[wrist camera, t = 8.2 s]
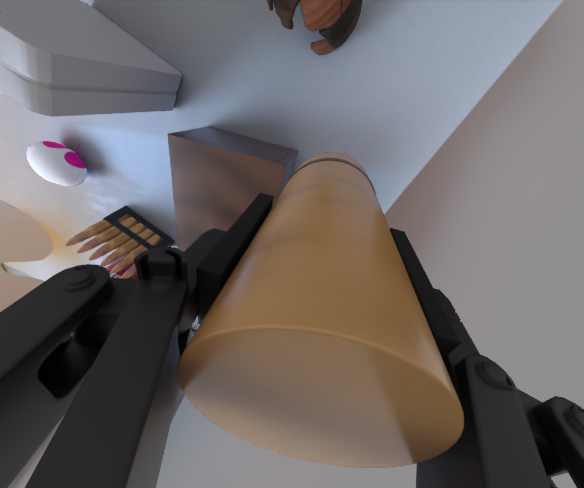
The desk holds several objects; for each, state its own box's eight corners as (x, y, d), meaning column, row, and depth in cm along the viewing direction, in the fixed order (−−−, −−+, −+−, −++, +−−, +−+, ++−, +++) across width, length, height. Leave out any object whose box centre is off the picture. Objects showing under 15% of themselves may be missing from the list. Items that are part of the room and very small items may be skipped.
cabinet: (277, 244, 41) (264, 276, 33) (207, 224, 41) (178, 251, 34) (298, 150, 32) (285, 165, 24) (207, 126, 32) (167, 133, 25)
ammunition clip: (174, 240, 45) (128, 280, 35) (171, 246, 46) (125, 286, 36) (125, 205, 42) (60, 237, 32) (122, 211, 43) (58, 244, 33)
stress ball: (113, 164, 42) (93, 156, 35) (82, 195, 41) (56, 193, 35) (72, 131, 39) (43, 117, 33) (39, 164, 39) (2, 156, 32)
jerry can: (67, 36, 29) (-601, -126, 8) (68, -12, 27) (-906, -422, 6) (174, 112, 32) (-131, 131, 11) (184, 75, 29) (-190, 11, 8)
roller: (353, 239, 19) (380, 485, 7) (281, 219, 20) (182, 425, 7) (386, 164, 16) (568, 398, 3) (297, 140, 16) (155, 280, 4)
